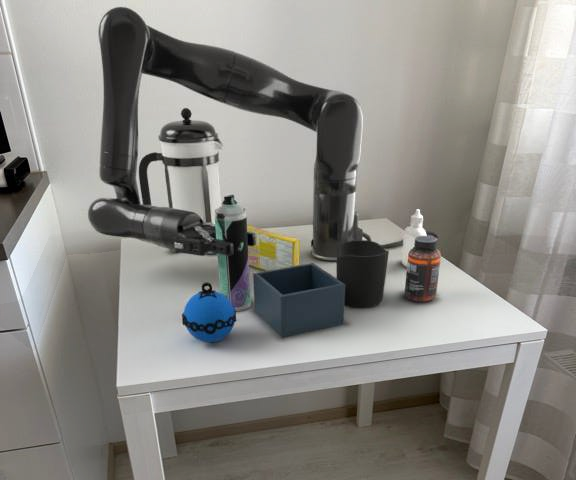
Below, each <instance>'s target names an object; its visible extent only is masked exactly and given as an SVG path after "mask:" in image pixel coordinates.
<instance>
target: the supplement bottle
mask: <svg viewBox="0 0 576 480" xmlns="http://www.w3.org/2000/svg"><path fill="white" fill-rule="evenodd" d="M414 245H415V246H414V247H413V248H412V249H411V250H410V251H409V253H408V262H407V267H406V273H405V282H404V283H405V284H404V297H405V298H406V299H409V300H410V301H413V302H419V303H420V302H421V303H423V302H430V301H432V300H434V299H435V298H436V296H437V292H438V283H439V276H440V268H441V259H442V253H441V251H440V250H439V249H438V248H437V246H438V238H435V237H434V236H433V235H427V236H418V237H416V238H415V244H414Z"/></svg>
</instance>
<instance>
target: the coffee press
mask: <svg viewBox="0 0 576 480" xmlns="http://www.w3.org/2000/svg"><path fill="white" fill-rule="evenodd" d="M192 114H193V113H192V110H190V109H189V107H188V108H187V107H184V108H182V109H181V111H180V116H181V117H182V120H175V121H170V122H167V123H166V124H164V125H163V126H162V127H161V129H160V132H159V134H158V141H159V142H160V147H161V152H156V151H155V152H150V153H147V154H145V155H144V156H143V157H142V158H141V160H140V162H139V165H138V180H139V181H138V182H139V188H140V194H141V202H142V204H146V205H152V199H151V193H150V192H151V191H150V184H149V178H148V168H149V166H150V164H151V163H152V162H157V161H161V162H162V164H163V172H164V179H165V187H166V195H167V205H168V207H169V208H175V209H180V210H185V211H190V212H194V213H196V214H198V215H199V216H200V217H201V219H202V220H203V222H204V223H205V222H211V223H213V224H215V216H214V215H215V209H217V208H219V207H220V206H221V203H222V198H221V183H220V169H219V162H220V155H219V154H220V153H219V151H218V150H224V149H225V146H224V144H223V142H222V141H221V139H220V138H219V133H218V132H216V129H215V127H214V126H213V125H212V124H211V123H209V122H207V121H204V120H194V119H192V120H191V117H192ZM168 250H169V251H170V252H171V253H173V254H176V253H177V252H175V250H171V249H168ZM208 254H209V255H211V254H210V253H208ZM214 254H216V253H213V254H212V255H214Z"/></svg>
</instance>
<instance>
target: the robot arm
mask: <svg viewBox="0 0 576 480" xmlns="http://www.w3.org/2000/svg"><path fill="white" fill-rule="evenodd" d="M97 37H98V42H99V49H100V56H101V65H102V66H101V67H102V81H103V83H102V85H103V86H102V87H103V102H102V103H103V104H102V119H101V120H102V121H101V122H102V123H101V134H100V147H99V150H100V151H99V171H98V172H99V179H100V180H101V182H102V183H103V184H106V185H107V186H112V187H113V189H114V193H115V197H98V198H97V199H95V200H94V201H92V202H91V203H90V205H89V207H88V209H87V219H88V222H89V224H90V225H91V227H92V228H93V229H94V230H95V231H96V232H97V233H99V234H102V235H105V236H110V237H117V238H118V237H119V238H129V239H134V240H137V241H141V242H145V243H147V244H151V245H155V246H158V247H159V248H164V249H167V250H169V249H171V250H172V251H173V250H175V252H176V253H180V254H186V255H187V254H188V255H194V256H198V257H199V256H200V257H204V256H206V253H207V254H209V253H210V254H209V255H214V254H213V253H215V254H217V253H219V254H224V255H228V256H231V255H233V254H234V248H233V243H232V242H228V241H224V240H219V239H216V229H215V224H213V223H211V222H205V223H204V222H203V220H202V219H201V217H200V216H199V215H198V214H196V213H194V212H190V211H185V210H180V209H175V208H169V206H156V205H153V204H151V205H146V204H143V203H141V198H140V193H139V187H138V181H137V172H138V171H137V170H138V159H139V158H138V157H139V95H140V86H141V81H142V75H147V76H151V77H156V78H160V79H164V80H167V81H171V82H173V83H176V84H178V85H180V86H182V87H184V88H186V89H189V90H190V91H192V92H194V93H196V94H199V95H201V96H204V97H206V98H208V99H211V100H214V101H216V102H218V103H221V104H224V105H226V106H230V107H233V108H236V109H238V110H241V111H245V112H248V113H253V114H258V115H263V116H269V117H276V118H281V119H285V120H288V121H291V122H293V123H296V124H299V125H301V126H302V127H305V128H307V129H309V130H311V131H313V132H315V133H316V151H315V152H316V154H315V160H314V162H313V181H312V182H313V183H312V185H313V187H312V188H313V189H312V191H313V194H312V195H313V196H312V199H313V200H312V239H311V241H310V248H311V249H312V250H311V256H313V257H314V258H316V259H319V260H323V261H331V262H333V261H335V262H336V250H337V246H338V245H339V244H341V243H344V242H347V241H355V240H363V238H364V239H365V240H367V241H372V238H371V236H370V235H369V234H368V233H366V232H363V231H364V230H363V228H361V227H359V212H357V211H356V197H357V178H358V176H357V175H358V168H359V165H360V161H361V155H362V141H363V129H364V115H363V110H362V109H363V108H362V107H361V105H360V103H359V101H358V99H356V98H355V97H354V96H353V95H351V94H349V93H346V92H344V91H340V90H336V89H329V88H323V87H320V86H316V85H312V84H308V83H304V82H301V81H299V80H296V79H294V78H292V77H290V76H288V75H286V74H285V73H283V72H281V71H279V70H278V69H276V68H274V67H272V66H270V65H268V64H266V63H264V62H261V61H260V60H257V59H255V58H252V57H250V56H247V55H245V54H242V53H239V52H236V51H234V50H232V49H231V50H230V49H227V48H225V47H224V48H223V47H219V46H214V45H208V44H203V43H195V42H189V41H185V40H181V39H179V38H175V37H173V36H171V35H170V34H169V35H168V34H166V33H164V32H162V31H159V30H158V29H155V28H153V27H151V26H150V25H148V24H147V23H146V21H145V20H144V19H143V18H142V16H141V15H140V14H139V13H138V12H136V11H135V10H133V9H132V8H130V7H127V6H116V7H113V8H111V9H108V11H106V12H105V13H104V15H102V18H101V19H100V22H99V24H98V30H97ZM425 232H426V235H427V236H432V237H435V238H437V239H439V238H440V235H439V233H437V232H436V231H433V230H425ZM247 237H248V246H254V245H255V244H256V236H255V234H254V233H250V232H247ZM403 240H404V238H403V239H401V240H398V241H394V242H391V243H386V244H380V245H381V246H382V247H383V248H384V249H390V248H395V247H399V246H403Z"/></svg>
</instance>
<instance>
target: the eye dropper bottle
mask: <svg viewBox="0 0 576 480" xmlns="http://www.w3.org/2000/svg"><path fill="white" fill-rule="evenodd" d="M423 222H424V216H423V215H422V214H421V209H420V208H417V209H416V210H415V212H414V214H412V215H411V216H410V226H407V227H405V229H404V231H403V232H404V233H403V239H404V240H403V239H402V240H403V244H402V250H401V260H400V261H401V264H402V265H403V266H404V267H406V268H407V262H408V253H409V251H410V250H411V249H412V248H413V247H414V246H415V245H414V244H415V238H416V237H418V236H428V235H426V232H425V231H426V230H425V229H424V228H423Z"/></svg>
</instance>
